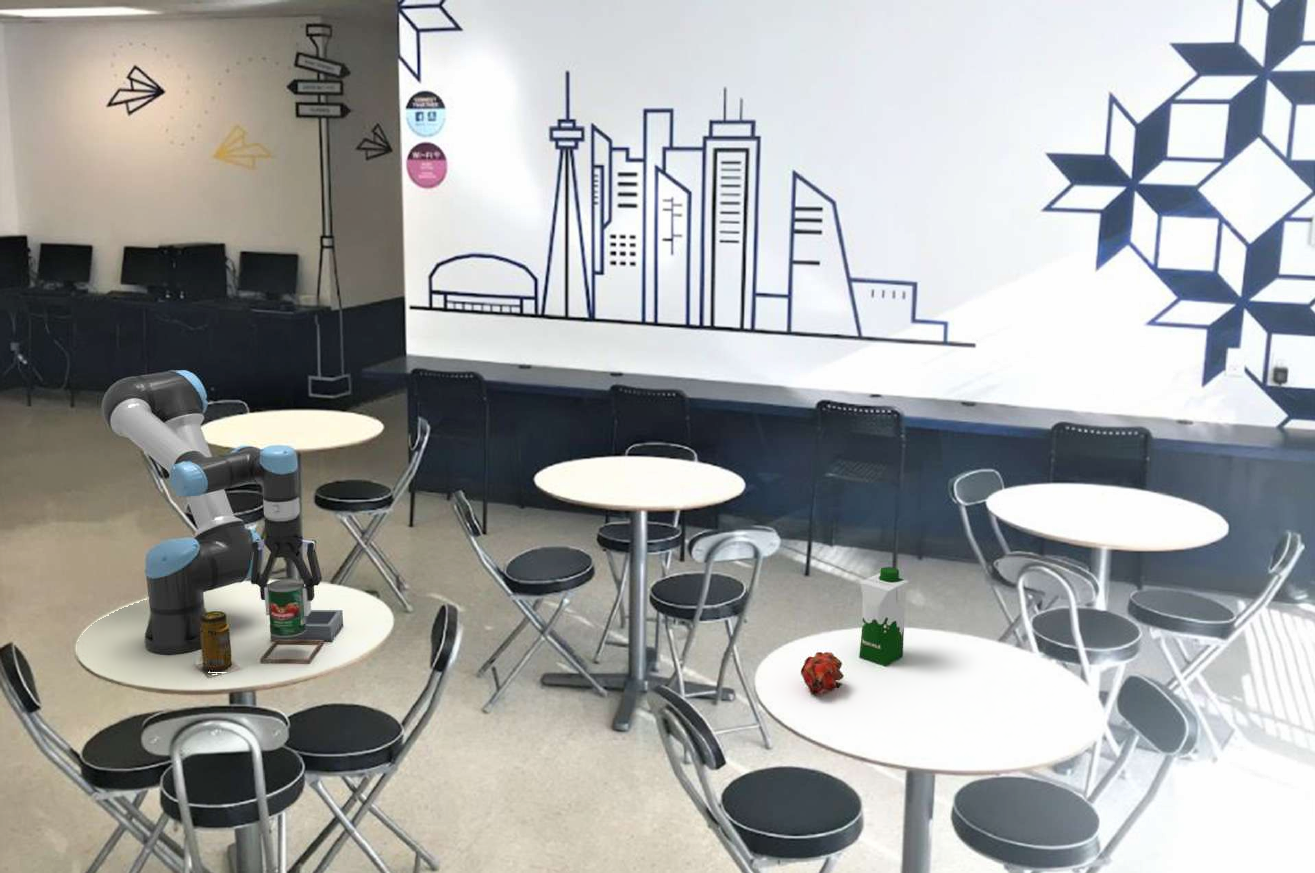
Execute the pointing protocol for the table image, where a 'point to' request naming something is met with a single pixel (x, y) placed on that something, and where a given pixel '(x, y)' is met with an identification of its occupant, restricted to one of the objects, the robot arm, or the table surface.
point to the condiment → (215, 644)
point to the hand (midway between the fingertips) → (288, 613)
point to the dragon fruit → (822, 672)
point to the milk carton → (883, 617)
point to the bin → (319, 626)
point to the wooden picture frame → (292, 660)
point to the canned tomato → (286, 608)
